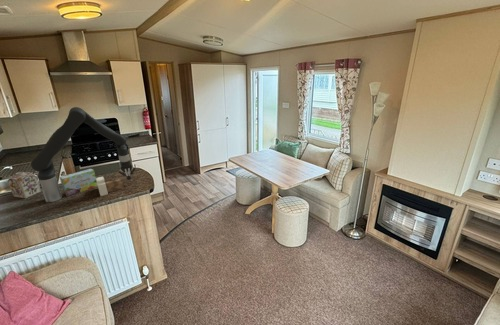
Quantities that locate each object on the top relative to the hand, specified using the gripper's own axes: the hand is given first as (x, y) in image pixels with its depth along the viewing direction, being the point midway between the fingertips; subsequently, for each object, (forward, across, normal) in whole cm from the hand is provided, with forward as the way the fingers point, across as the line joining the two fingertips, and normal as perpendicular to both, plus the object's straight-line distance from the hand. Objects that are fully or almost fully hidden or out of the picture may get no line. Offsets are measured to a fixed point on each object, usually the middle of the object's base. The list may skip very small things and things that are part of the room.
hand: (129, 179), depth 193 cm
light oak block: (+4, -11, -1) cm, 12 cm away
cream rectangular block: (+4, -20, -1) cm, 20 cm away
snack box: (+4, -33, +10) cm, 35 cm away
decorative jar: (+4, -67, +27) cm, 72 cm away
